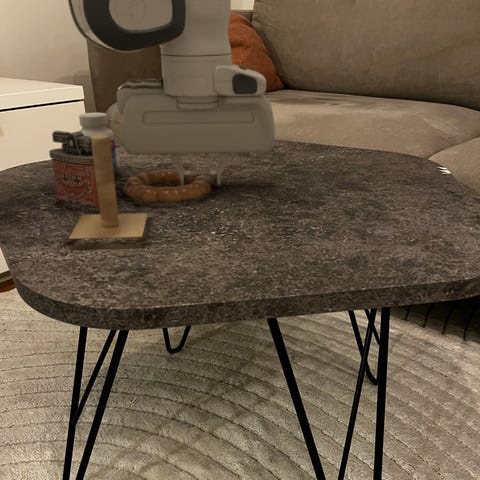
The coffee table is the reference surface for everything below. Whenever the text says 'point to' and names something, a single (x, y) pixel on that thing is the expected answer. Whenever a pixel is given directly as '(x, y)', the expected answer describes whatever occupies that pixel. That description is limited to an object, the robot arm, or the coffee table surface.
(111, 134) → the pill bottle
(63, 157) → the lighter
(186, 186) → the ring
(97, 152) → the paper towel holder
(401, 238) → the coffee table surface
